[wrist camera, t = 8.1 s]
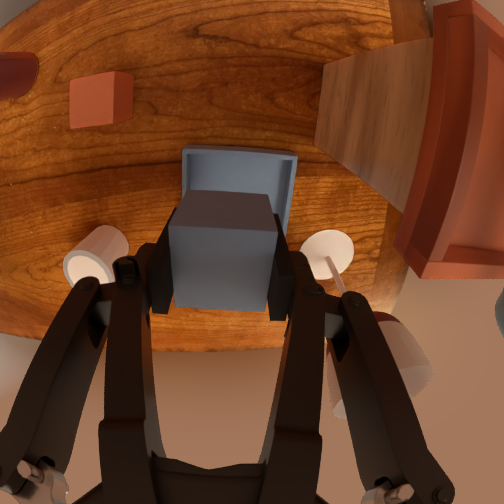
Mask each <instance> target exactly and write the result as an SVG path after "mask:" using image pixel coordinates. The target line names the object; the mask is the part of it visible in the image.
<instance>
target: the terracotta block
mask: <svg viewBox="0 0 504 504" xmlns="http://www.w3.org/2000/svg"><path fill="white" fill-rule="evenodd" d="M133 91H134V74H132V73H126V72H119V71H110V72H105V73H99V74H94V75H90V76H85V77H81V78H76V79H72V80H70V95H69V121H70V129H75V128H82V127H89V126H96V125H105V124H113V123H117V122H121V121H125V120H128V119H132V118H133Z"/></svg>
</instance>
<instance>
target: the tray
mask: <svg viewBox="0 0 504 504" xmlns="http://www.w3.org/2000/svg"><path fill="white" fill-rule="evenodd" d="M297 161H298V156H297V155H296V154H295V153H294V152H292V151H283V150H274V149H263V148H251V147H237V146H219V145H186V146H185V147H184V148H183V149H182V198H183V196H184V194H185V192H186V190H187V189H192V190H213V191H230V192H244V193H257V194H268V196H269V200H270V204H271V207H272V211H273V213H276V214H278V216H279V219H280V222H281V226H282V229H283V232H284V236H285V238H286V232H287V226H288V220H289V213H290V207H291V201H292V195H293V188H294V182H295V175H296V168H297Z"/></svg>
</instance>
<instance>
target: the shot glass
mask: <svg viewBox="0 0 504 504" xmlns="http://www.w3.org/2000/svg"><path fill="white" fill-rule="evenodd" d="M128 252H129V244H128V242H127V239H126V237H125V236H124V235H123V233H122V232H121V231H120V230H118V229H117V228H115V227H113V226H109V225H102V226H99V227H97V228H96V229H95V230H94V231H93V232H91V233H90V234H89V235H88V236H87V237H86V238H85V239H83V240H82V241H81V242H80V243H79V244H78V245H77V246H76V247H75V248H73V249H72V250H71V251H70V252H69V253H68V254H67V256H66V257H65V258H64V262H63V270H64V274H65V277H66V279H67V280H68V282H69V284H70V285H71V286H72V287H74V285H75V283H76V282H77V281H78V280H80V279H81V278H83V277H87V276H93V277H96V278H98V279H99V282H100V284H104V283H111V282H115V277H114V272H113V268H112V264H113V262H114V261H115V260H116V259H118V258H120V257H123V256H127V254H128Z"/></svg>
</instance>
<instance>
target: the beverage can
mask: <svg viewBox="0 0 504 504" xmlns="http://www.w3.org/2000/svg"><path fill="white" fill-rule="evenodd" d="M37 74H38V61H37V58H36V57H35V55H34V54H32V53H30V52H1V53H0V100H4V99H9V98H14V97H19V96H22V95H24V94H25V93H26V92H27V91H28V90H29V89H30V88H31V87H32V85H33V84H34V82H35V80H36V77H37Z"/></svg>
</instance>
